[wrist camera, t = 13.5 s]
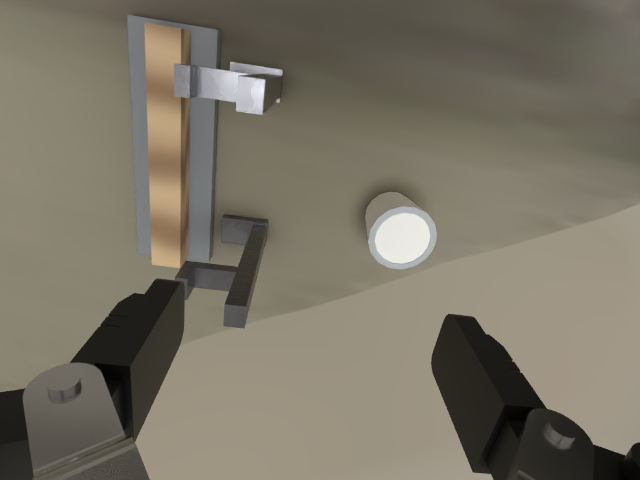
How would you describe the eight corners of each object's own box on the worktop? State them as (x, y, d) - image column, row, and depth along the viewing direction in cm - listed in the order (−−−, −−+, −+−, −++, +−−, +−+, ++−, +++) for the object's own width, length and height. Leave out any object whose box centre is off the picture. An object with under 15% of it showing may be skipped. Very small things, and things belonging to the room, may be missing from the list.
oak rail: (157, 25, 35) (144, 22, 32) (190, 31, 35) (181, 28, 33) (161, 252, 44) (151, 264, 41) (188, 255, 44) (180, 267, 42)
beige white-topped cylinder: (360, 244, 46) (369, 272, 40) (358, 188, 43) (367, 209, 37) (418, 239, 46) (436, 267, 40) (419, 183, 43) (439, 203, 37)
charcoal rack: (219, 59, 38) (157, 53, 22) (283, 69, 38) (266, 70, 23) (212, 237, 45) (162, 325, 30) (265, 243, 46) (243, 333, 30)
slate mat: (134, 16, 36) (127, 14, 35) (220, 31, 37) (217, 29, 35) (143, 247, 45) (138, 253, 44) (212, 256, 46) (208, 261, 45)
